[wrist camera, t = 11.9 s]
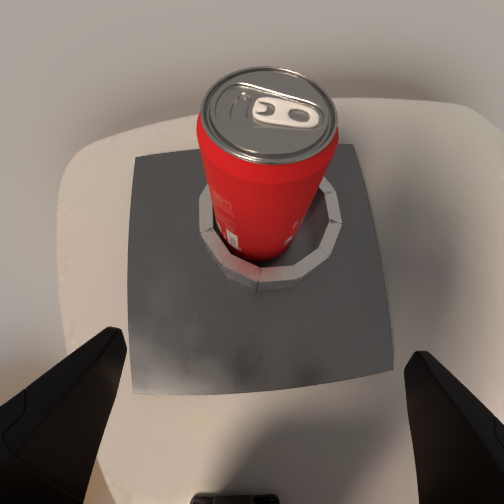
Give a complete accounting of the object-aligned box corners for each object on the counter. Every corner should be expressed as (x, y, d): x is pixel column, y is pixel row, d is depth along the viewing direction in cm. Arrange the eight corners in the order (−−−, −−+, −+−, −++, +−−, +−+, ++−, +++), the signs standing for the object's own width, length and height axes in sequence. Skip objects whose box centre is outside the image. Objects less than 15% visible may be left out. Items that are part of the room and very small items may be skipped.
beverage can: (229, 188, 22) (216, 55, 10) (299, 202, 21) (345, 77, 10) (211, 256, 20) (172, 155, 9) (287, 271, 20) (341, 186, 8)
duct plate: (387, 368, 19) (414, 373, 15) (138, 391, 18) (116, 402, 15) (349, 150, 24) (364, 122, 20) (139, 163, 23) (123, 135, 19)
